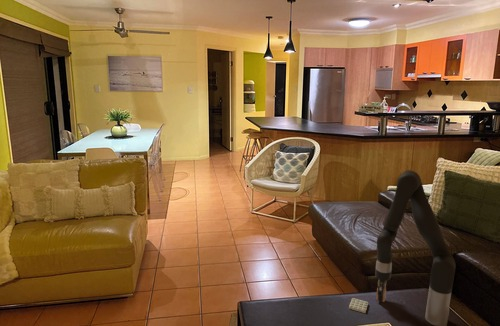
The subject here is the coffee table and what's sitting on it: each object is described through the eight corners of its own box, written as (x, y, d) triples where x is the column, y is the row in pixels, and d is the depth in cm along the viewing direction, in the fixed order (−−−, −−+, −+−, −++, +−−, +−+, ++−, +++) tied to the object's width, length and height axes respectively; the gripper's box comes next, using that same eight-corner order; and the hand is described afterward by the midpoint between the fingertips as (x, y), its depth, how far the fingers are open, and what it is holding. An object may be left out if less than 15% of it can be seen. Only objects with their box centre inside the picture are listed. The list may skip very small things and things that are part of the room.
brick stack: (385, 297, 187) (386, 286, 185) (384, 301, 183) (385, 290, 182) (377, 295, 189) (378, 284, 187) (376, 299, 185) (377, 288, 184)
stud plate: (367, 304, 184) (368, 301, 183) (365, 313, 177) (365, 310, 177) (352, 299, 187) (352, 297, 187) (348, 308, 180) (349, 305, 180)
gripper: (389, 277, 174) (386, 308, 178) (392, 263, 186) (390, 293, 190) (373, 273, 177) (371, 304, 181) (377, 260, 190) (375, 289, 194)
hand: (380, 298), depth 186 cm, fingers closed on brick stack, 4 cm apart
